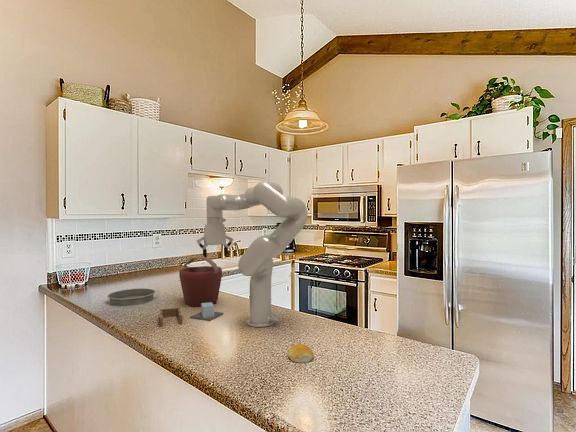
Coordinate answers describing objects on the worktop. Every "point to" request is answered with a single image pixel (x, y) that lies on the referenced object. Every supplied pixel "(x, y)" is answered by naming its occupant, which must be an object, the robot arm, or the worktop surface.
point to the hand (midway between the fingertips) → (215, 256)
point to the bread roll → (300, 353)
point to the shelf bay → (170, 314)
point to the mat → (199, 316)
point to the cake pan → (131, 297)
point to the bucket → (200, 283)
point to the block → (207, 310)
